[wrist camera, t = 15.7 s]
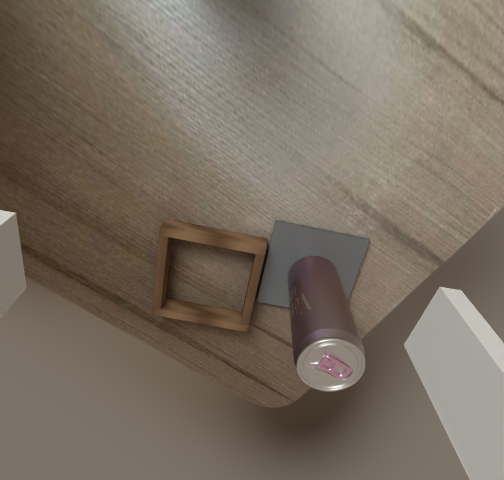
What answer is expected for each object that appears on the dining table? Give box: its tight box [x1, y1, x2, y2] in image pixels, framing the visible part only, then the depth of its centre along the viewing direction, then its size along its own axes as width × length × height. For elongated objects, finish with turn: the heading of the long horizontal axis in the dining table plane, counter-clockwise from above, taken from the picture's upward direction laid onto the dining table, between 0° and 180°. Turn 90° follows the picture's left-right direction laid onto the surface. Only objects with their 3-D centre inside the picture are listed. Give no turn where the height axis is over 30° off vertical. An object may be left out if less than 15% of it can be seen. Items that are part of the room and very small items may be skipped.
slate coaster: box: [257, 220, 370, 308], centre depth 43 cm, size 11×11×1 cm
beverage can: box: [287, 256, 365, 391], centre depth 36 cm, size 6×6×15 cm
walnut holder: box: [152, 219, 267, 332], centre depth 43 cm, size 12×12×2 cm
